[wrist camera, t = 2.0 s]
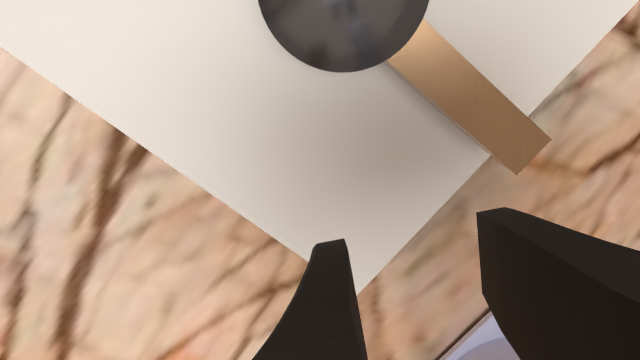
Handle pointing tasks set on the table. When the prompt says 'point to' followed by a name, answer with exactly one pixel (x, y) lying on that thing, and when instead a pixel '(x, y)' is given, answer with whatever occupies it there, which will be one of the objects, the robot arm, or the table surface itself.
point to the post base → (298, 105)
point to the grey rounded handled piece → (406, 65)
